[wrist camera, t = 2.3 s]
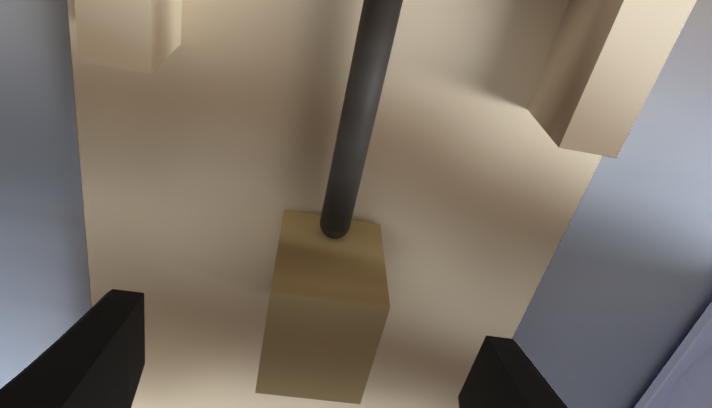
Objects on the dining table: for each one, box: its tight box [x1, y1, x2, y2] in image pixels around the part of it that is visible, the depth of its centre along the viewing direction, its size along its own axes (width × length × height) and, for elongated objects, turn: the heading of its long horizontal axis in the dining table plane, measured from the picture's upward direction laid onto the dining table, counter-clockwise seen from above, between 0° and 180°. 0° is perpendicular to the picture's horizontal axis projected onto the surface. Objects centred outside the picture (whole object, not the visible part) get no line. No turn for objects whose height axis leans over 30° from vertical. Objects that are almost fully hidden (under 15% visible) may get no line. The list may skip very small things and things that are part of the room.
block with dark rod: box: [255, 0, 403, 404], centre depth 9 cm, size 16×6×4 cm, turn 169°
